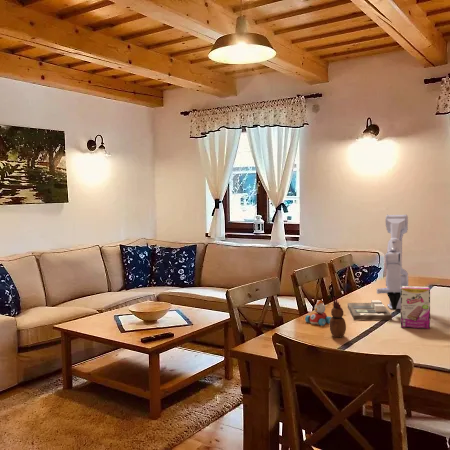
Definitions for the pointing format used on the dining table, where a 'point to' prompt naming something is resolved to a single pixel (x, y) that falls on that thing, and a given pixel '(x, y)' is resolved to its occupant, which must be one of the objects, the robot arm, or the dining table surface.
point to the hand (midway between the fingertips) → (394, 309)
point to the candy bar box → (415, 307)
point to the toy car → (318, 315)
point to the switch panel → (367, 312)
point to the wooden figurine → (337, 320)
